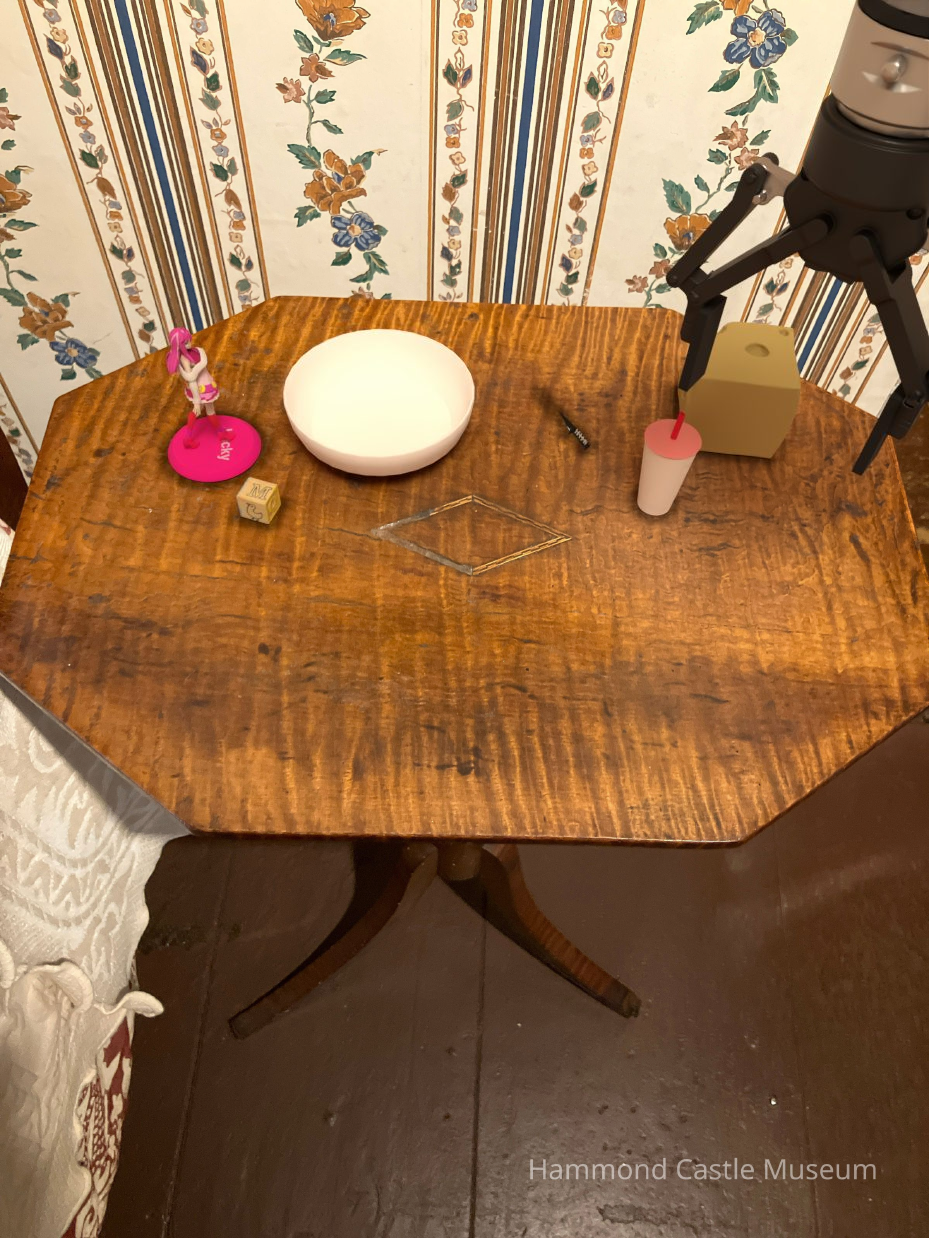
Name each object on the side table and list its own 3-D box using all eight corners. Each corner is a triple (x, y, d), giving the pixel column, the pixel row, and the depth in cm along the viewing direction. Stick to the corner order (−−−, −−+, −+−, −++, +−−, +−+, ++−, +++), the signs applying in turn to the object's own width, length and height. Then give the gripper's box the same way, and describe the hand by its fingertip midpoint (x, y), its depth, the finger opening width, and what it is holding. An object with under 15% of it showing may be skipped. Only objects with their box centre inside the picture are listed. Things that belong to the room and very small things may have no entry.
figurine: (262, 478, 90) (235, 359, 78) (166, 487, 89) (123, 368, 77) (260, 414, 96) (234, 293, 83) (169, 421, 95) (129, 301, 82)
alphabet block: (254, 496, 89) (248, 475, 86) (282, 504, 88) (278, 482, 86) (240, 518, 87) (234, 497, 85) (269, 525, 87) (264, 505, 84)
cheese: (675, 388, 100) (696, 313, 92) (770, 399, 99) (800, 324, 91) (674, 452, 94) (697, 378, 86) (776, 464, 93) (809, 390, 85)
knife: (534, 397, 99) (534, 395, 99) (545, 393, 99) (546, 391, 99) (580, 453, 94) (580, 450, 93) (592, 448, 94) (592, 446, 94)
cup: (680, 488, 91) (710, 398, 81) (679, 526, 88) (709, 437, 78) (629, 480, 91) (652, 390, 82) (626, 518, 88) (649, 429, 78)
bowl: (446, 362, 101) (446, 316, 96) (495, 481, 91) (498, 437, 86) (277, 389, 98) (269, 343, 93) (308, 516, 87) (300, 473, 82)
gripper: (654, 60, 48) (599, 374, 65) (1132, 220, 39) (923, 534, 57) (721, 18, 52) (652, 327, 69) (1173, 156, 43) (964, 470, 60)
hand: (774, 421), depth 63 cm, fingers open, 13 cm apart
